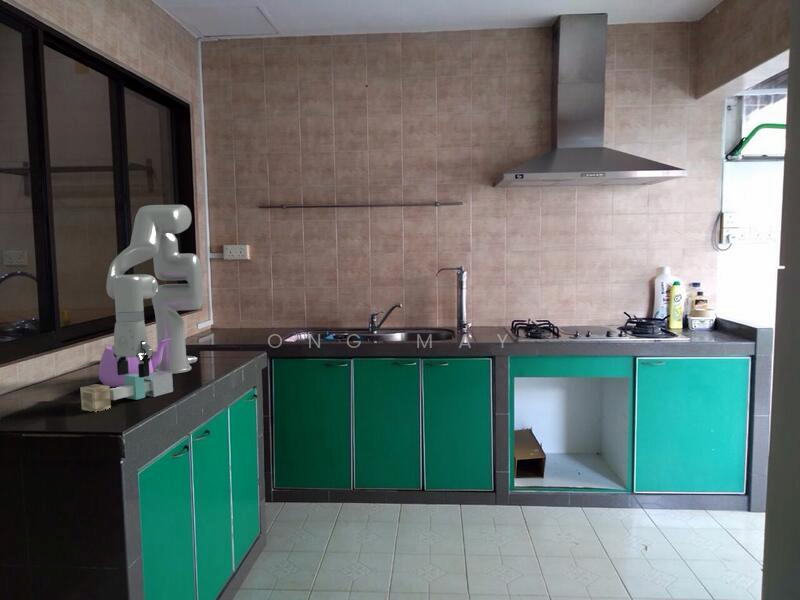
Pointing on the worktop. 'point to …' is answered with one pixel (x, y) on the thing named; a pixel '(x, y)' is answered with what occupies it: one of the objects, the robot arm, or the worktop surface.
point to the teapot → (109, 366)
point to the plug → (131, 388)
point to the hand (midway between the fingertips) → (133, 375)
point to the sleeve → (159, 383)
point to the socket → (95, 397)
